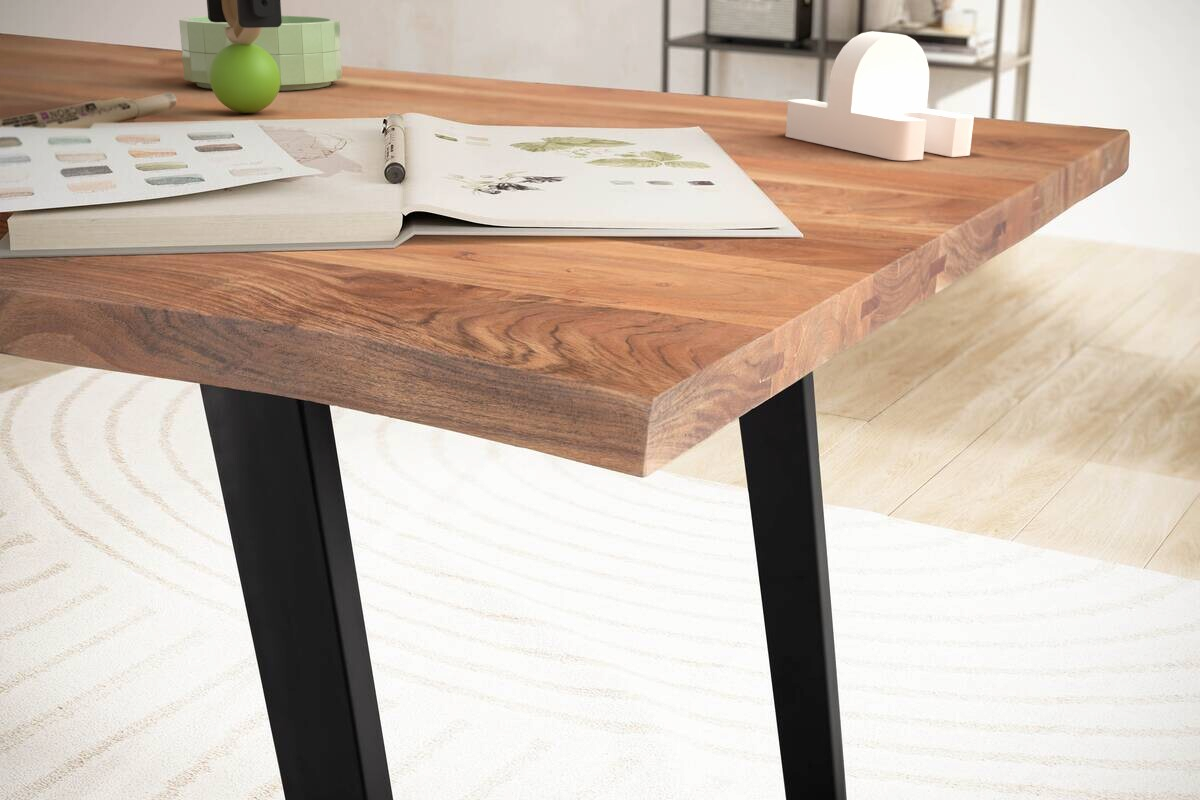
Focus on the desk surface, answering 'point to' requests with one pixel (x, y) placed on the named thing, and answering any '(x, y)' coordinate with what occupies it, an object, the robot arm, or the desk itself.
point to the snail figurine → (243, 68)
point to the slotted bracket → (880, 104)
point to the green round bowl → (269, 49)
